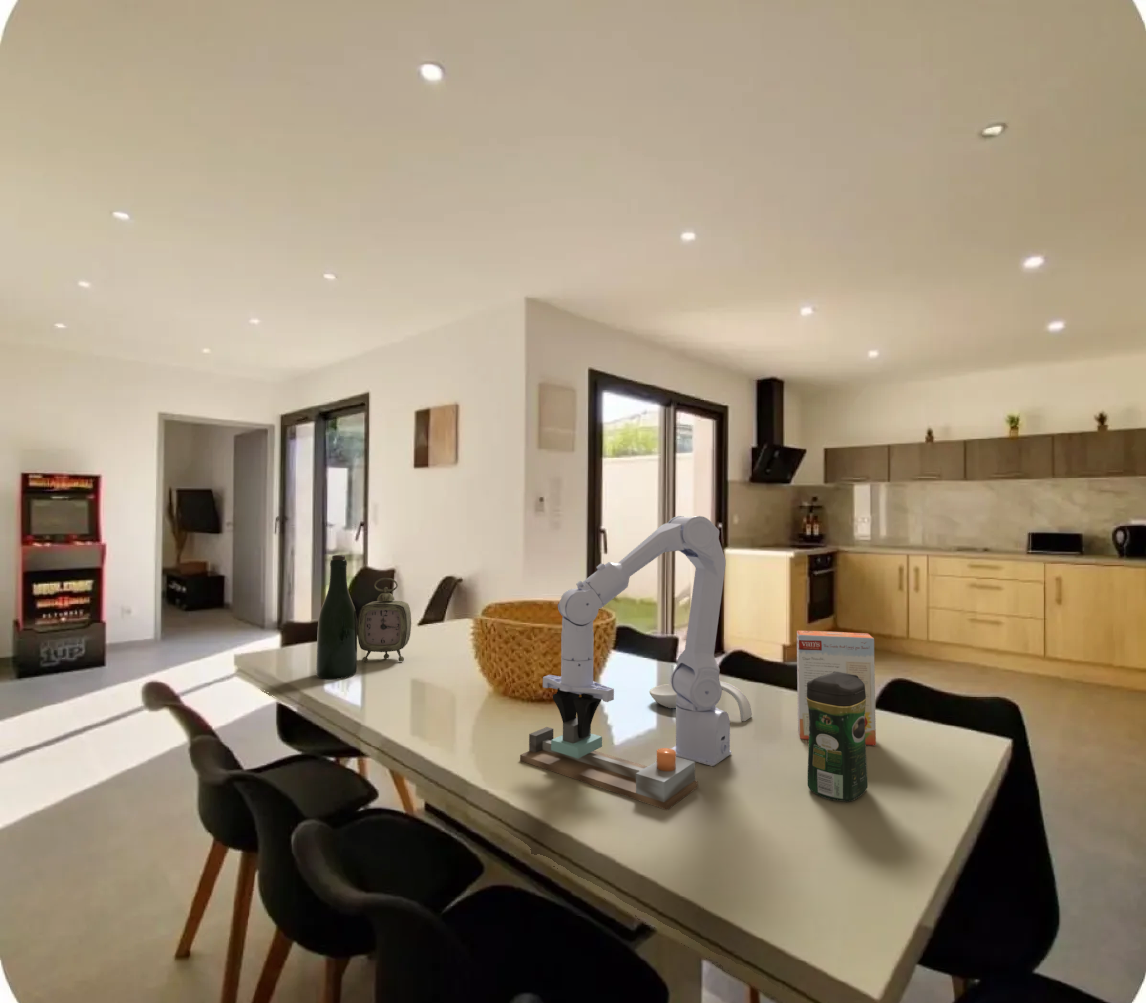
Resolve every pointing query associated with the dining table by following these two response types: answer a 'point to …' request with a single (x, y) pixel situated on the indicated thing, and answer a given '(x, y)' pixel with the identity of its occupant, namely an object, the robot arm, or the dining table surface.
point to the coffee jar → (837, 736)
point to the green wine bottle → (337, 627)
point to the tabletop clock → (384, 624)
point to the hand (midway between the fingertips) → (576, 734)
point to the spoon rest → (669, 696)
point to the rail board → (615, 772)
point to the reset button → (666, 759)
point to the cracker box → (835, 669)
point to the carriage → (575, 741)
